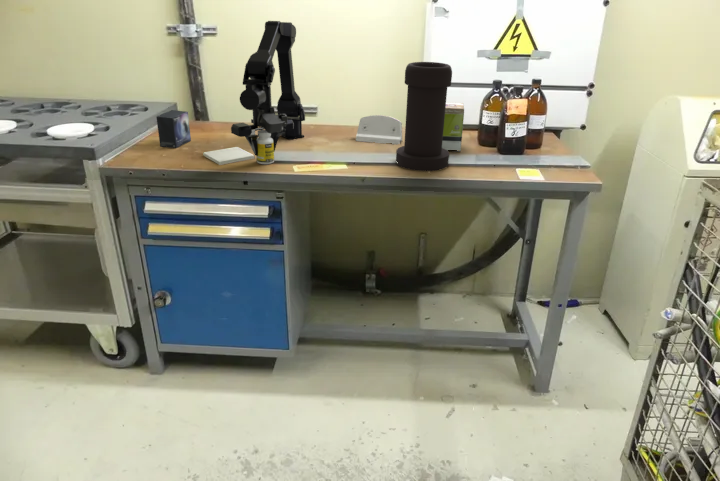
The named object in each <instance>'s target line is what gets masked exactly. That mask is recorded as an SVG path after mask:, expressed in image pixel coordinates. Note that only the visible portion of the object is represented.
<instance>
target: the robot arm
mask: <svg viewBox="0 0 720 481" xmlns="http://www.w3.org/2000/svg"><path fill="white" fill-rule="evenodd" d="M296 36H297V28H296V26H295V24H293V22H289V21H288V22H287V21H280V20H268V21H265V23H264V31H263V34H262V37H261V40H260V42H259V45H258V48H257V50H256V51H255V52H253V53H252V54H251V55H250V56H249V58H248V60H247V62H246V63H245V66H244V67H245V68H244V73H243V78H242V85H243V86H245V90H243V91H242V92H241V93H240V94H239V102H240V105H241V106H242V107H243V109H245V110H247V111H252V119H250V122H251V124H248V123H245V122H238V123H232V125H231V127H230V132H231V134H233V135H235V136H236V137H239V138H246V140H247V142H248V144H249V146H250V147H251V150H252V152H253V155H255V156H256V157H257V156H258V148H257V138H258V134H256V131H257V132H258V131H259V130H266V132H267V133H271V136H270V137H271V138H272V139H273V142H274V152H275V151H276V148H277V145H278V141H279V139H280V136H281V137H283V138H285V139H287V140H293V139H300V138H304V137H305V135H304V134H303V132H302V131H303V129H302V127H303V126H302V123H303V122H305V121H306V113H305V109H304V107H303V104H302V102H301V98H300V96H299V94H298V93H297V92H296V89H295V80H294V66H293V54H292V48H293V46H294V44H295V43H296ZM275 52H276V53H277V62H278V63H277V64H278V71H279V82H280V90H281V94H280V97H279V99H278V101H277V106H276V110H277V112H275V107H273V106H272V90H271V88H272V83H273V80H274V77H275V73H276V69H275V65H274V62H273V58H274V56H275ZM276 113H277V114H276Z"/></svg>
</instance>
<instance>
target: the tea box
mask: <svg viewBox="0 0 720 481" xmlns="http://www.w3.org/2000/svg"><path fill="white" fill-rule="evenodd" d="M464 106H465V105H464V103H463V102H446V108H445V119H444V130H443V141H442V148H443V149H446V150H447V151H448V150H457V151H456V152H462V150H461V149H462V140H463V130H464V119H465V118H464V117H465V107H464ZM458 150H459V151H458Z"/></svg>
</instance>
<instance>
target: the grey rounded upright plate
mask: <svg viewBox="0 0 720 481" xmlns="http://www.w3.org/2000/svg"><path fill="white" fill-rule="evenodd" d="M355 142H364V143H373V142H375V144H386V143H392V144H391V145H398V144H401V142H403V123H402V121H401V120H399V119H397V118H395V117H393V116H390V115H383V114H382V115H381V114H373V115H372V114H371V115H367V116H364V117H361V118H360V119H359V122H358V126H357V131H356V135H355Z"/></svg>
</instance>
